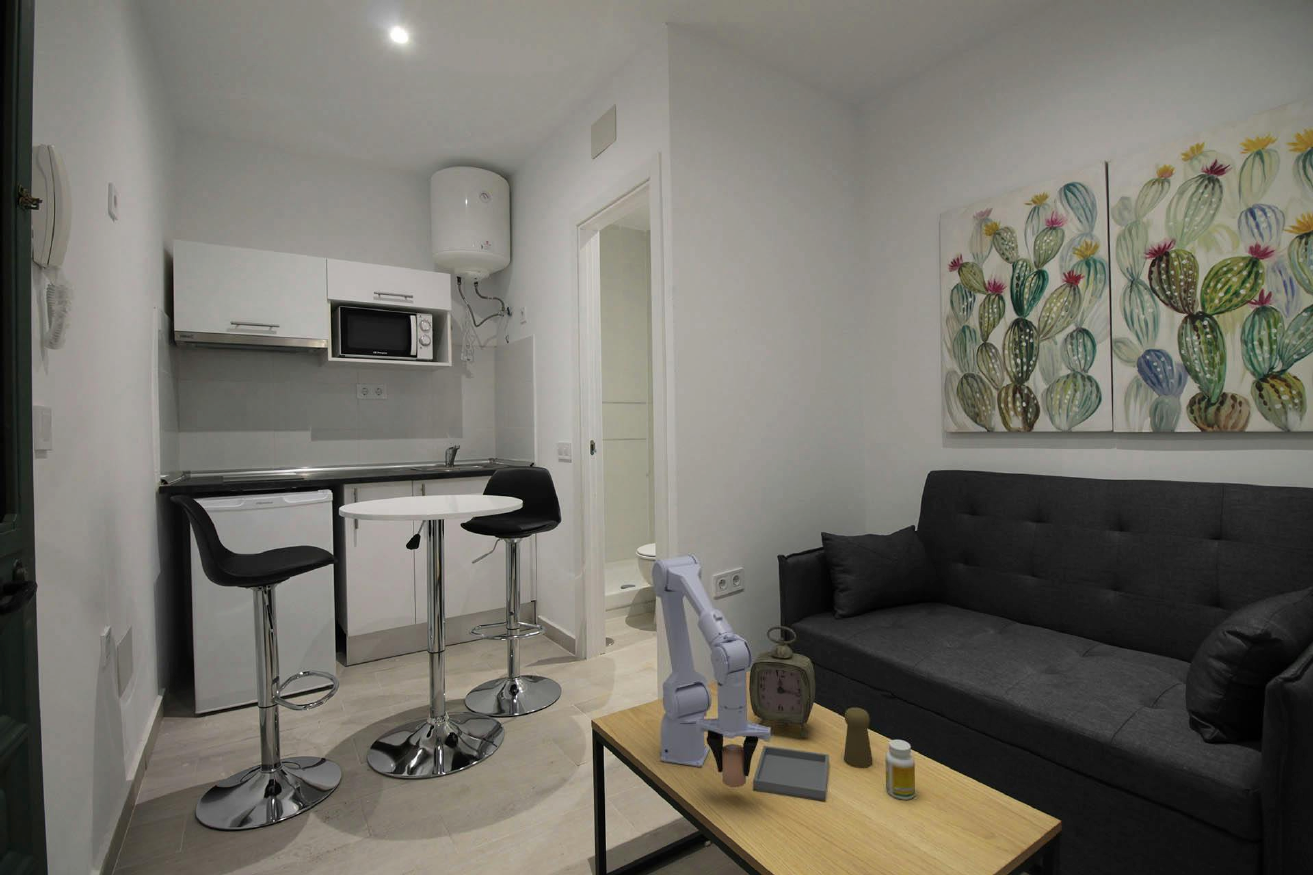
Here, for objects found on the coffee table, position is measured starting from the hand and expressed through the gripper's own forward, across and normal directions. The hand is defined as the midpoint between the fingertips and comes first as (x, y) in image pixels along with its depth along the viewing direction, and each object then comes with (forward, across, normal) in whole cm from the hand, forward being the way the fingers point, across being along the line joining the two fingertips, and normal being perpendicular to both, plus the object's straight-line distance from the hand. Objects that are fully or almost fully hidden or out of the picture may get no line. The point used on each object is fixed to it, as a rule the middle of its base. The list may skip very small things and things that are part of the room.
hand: (733, 771), depth 120 cm
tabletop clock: (+6, +6, +31) cm, 32 cm away
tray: (+5, +10, +11) cm, 16 cm away
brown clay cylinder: (+2, 0, 0) cm, 2 cm away
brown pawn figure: (+6, +23, +21) cm, 32 cm away
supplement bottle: (+6, +31, +11) cm, 33 cm away
